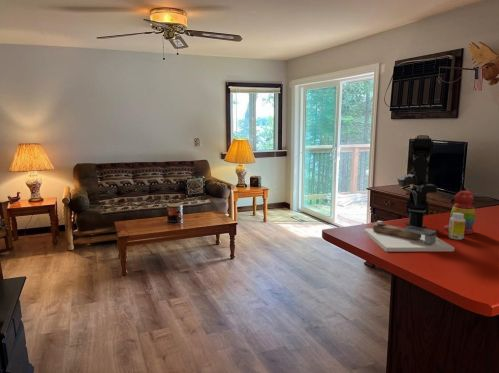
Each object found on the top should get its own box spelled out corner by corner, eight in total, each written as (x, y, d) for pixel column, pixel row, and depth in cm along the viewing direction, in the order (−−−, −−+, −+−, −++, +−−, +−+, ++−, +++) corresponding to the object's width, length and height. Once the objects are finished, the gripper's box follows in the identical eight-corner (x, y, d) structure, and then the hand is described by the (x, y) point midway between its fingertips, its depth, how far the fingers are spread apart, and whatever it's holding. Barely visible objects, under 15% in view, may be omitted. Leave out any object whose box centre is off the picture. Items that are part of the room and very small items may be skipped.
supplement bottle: (466, 239, 148) (469, 214, 146) (456, 240, 146) (459, 215, 144) (454, 235, 153) (457, 211, 151) (444, 236, 151) (447, 212, 149)
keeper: (403, 239, 142) (404, 227, 141) (409, 236, 145) (410, 225, 145) (429, 245, 135) (430, 233, 134) (435, 242, 138) (436, 230, 137)
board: (363, 231, 157) (364, 218, 156) (421, 231, 158) (422, 218, 157) (386, 251, 133) (387, 236, 132) (454, 251, 133) (455, 235, 132)
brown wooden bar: (370, 230, 152) (371, 224, 152) (376, 228, 156) (376, 222, 155) (416, 240, 139) (417, 233, 139) (421, 237, 143) (422, 231, 142)
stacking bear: (460, 226, 166) (464, 188, 163) (480, 233, 156) (485, 192, 153) (441, 228, 163) (445, 189, 160) (460, 235, 153) (465, 193, 150)
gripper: (391, 166, 159) (389, 201, 162) (411, 171, 141) (408, 211, 144) (416, 166, 160) (413, 201, 162) (439, 171, 141) (436, 211, 144)
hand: (417, 205), depth 153 cm, fingers closed
